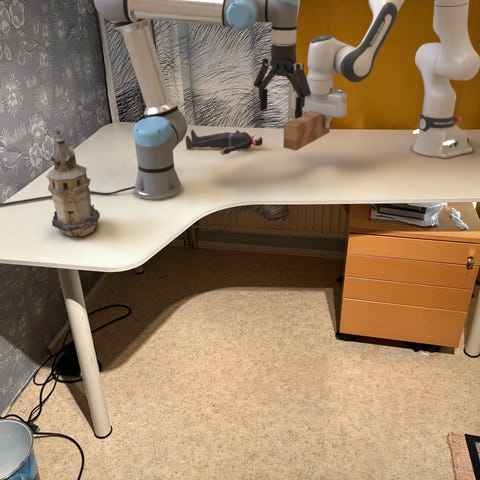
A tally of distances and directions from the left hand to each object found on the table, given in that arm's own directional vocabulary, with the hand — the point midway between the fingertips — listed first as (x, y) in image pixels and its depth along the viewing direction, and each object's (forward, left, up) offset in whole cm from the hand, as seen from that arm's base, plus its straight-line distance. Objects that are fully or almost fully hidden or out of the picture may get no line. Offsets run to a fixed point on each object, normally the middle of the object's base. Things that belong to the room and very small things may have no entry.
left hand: (280, 113), depth 172 cm
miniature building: (-63, -27, -24) cm, 72 cm away
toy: (-16, +37, -24) cm, 47 cm away
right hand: (+16, +14, -9) cm, 23 cm away
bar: (+11, +9, -12) cm, 19 cm away
